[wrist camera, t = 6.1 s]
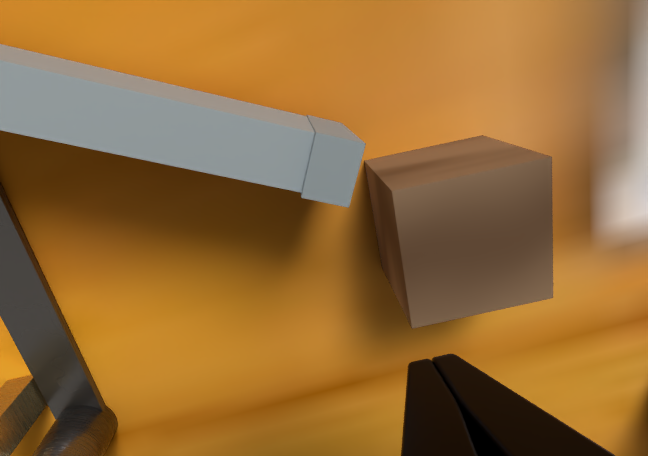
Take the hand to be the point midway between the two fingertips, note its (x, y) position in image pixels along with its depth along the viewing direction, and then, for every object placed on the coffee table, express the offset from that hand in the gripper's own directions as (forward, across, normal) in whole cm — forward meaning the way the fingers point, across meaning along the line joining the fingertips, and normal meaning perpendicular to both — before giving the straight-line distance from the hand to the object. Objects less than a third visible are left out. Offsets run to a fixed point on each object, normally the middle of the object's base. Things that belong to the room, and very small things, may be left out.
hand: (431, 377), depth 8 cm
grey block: (+8, +6, -5) cm, 12 cm away
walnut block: (+9, -3, 0) cm, 10 cm away
